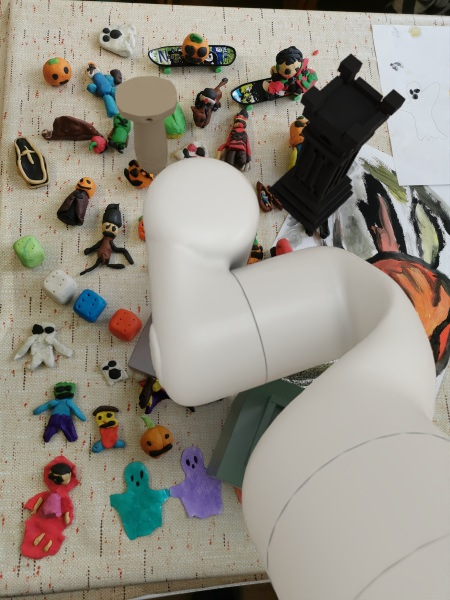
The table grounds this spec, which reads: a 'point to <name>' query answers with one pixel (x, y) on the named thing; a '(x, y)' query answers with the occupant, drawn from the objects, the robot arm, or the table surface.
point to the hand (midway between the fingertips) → (193, 323)
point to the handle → (148, 117)
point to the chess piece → (332, 143)
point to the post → (248, 428)
